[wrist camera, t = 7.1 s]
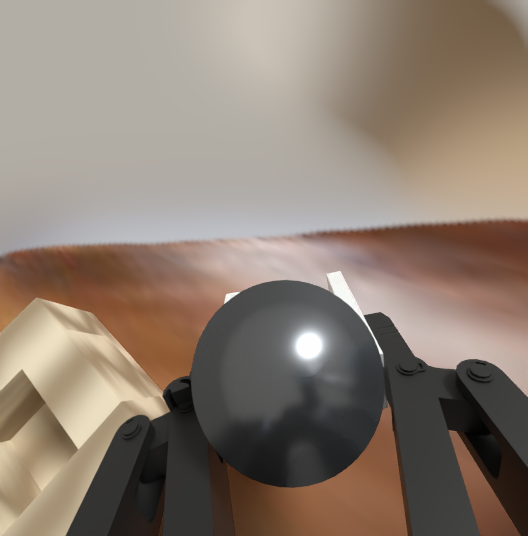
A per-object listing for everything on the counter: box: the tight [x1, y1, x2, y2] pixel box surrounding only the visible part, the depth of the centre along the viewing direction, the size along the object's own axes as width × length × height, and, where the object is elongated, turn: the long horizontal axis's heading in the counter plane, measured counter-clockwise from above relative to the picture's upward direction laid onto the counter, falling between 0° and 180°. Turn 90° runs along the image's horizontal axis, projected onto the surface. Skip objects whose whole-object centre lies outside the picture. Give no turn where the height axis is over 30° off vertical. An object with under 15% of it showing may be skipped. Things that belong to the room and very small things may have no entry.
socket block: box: [0, 298, 170, 536], centre depth 21 cm, size 14×14×6 cm
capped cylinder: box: [191, 280, 385, 488], centre depth 13 cm, size 5×5×12 cm
